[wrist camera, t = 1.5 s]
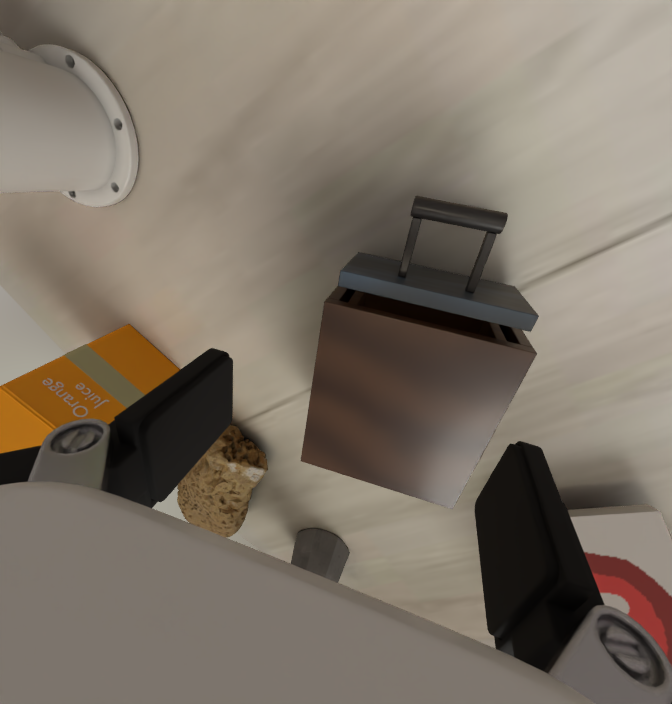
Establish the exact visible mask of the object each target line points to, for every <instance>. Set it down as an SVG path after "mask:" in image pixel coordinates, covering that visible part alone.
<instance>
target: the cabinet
mask: <svg viewBox="0 0 672 704" xmlns="http://www.w3.org/2000/svg"><path fill="white" fill-rule="evenodd" d="M355 291H356V290H352V289H348V288H344V287H340V286H338V287H337V288H336V289H335V290H334V291H333V292H332V294H331V295H330V296H329V297H328V298H327V299H326V301H325V302H324V309H323V316H322V322H321V329H320V336H319V342H318V349H317V356H316V362H315V369H314V376H313V382H312V389H311V396H310V402H309V409H308V416H307V422H306V429H305V436H304V443H303V449H302V456H301V461H302V462H306V463H309V464H312V465H315V466H318V467H321V468H324V469H328V470H331V471H334V472H337V473H340V474H343V475H346V476H350V477H353V478H356V479H359V480H362V481H365V482H368V483H372V484H375V485H378V486H381V487H384V488H387V489H390V490H394V491H397V492H400V493H403V494H406V495H409V496H412V497H416V498H419V499H422V500H425V501H428V502H431V503H435V504H438V505H441V506H444V507H447V508H450V509H453V508H454V506H455V504H456V502H457V500H458V498H459V496H460V495H461V493H462V491H463V489H464V487H465V485H466V484H467V482H468V480H469V478H470V476H471V474H472V473H473V471H474V469H475V467H476V465H477V463H478V461H479V460H480V458H481V456H482V454H483V452H484V450H485V449H486V447H487V445H488V443H489V441H490V439H491V438H492V436H493V434H494V432H495V430H496V428H497V426H498V425H499V423H500V421H501V419H502V417H503V415H504V414H505V412H506V410H507V408H508V406H509V404H510V403H511V401H512V399H513V397H514V395H515V393H516V391H517V390H518V388H519V386H520V384H521V382H522V380H523V379H524V377H525V375H526V373H527V371H528V369H529V368H530V366H531V364H532V362H533V360H534V358H535V356H536V355H537V353H536V351H535V349H534V348H533V347H532V345H531V344H530V342H529V340H528V339H527V337H526V336H525V334H524V332H523V331H522V330H521V329H517V328H513V327H509V326H504V325H500V324H499V326H500V329H501V331H502V333H503V335H504V337H505V339H506V341H503V340H499V339H495V338H491V337H487V336H483V335H479V334H475V333H471V332H466V331H462V330H458V329H454V328H450V327H446V326H442V325H438V324H434V323H429V322H425V321H421V320H417V319H413V318H409V317H405V316H401V315H396V314H392V313H388V312H384V311H380V310H376V309H372V308H368V307H364V306H359V305H355V304H351V303H348V302H349V301H350V299H351V297H352V296H353V294H354V293H355Z"/></svg>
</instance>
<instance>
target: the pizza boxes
mask: <svg viewBox="0 0 672 704" xmlns="http://www.w3.org/2000/svg"><path fill="white" fill-rule="evenodd" d="M568 513H569V515H570V518H571V520H572V523H573V525H574V528H575V531H576V533H577V536H578V538H579V541H580V543H581V546H582V548H583V551H584V553H585V556H586V559H587V561H588V564H589V566H590V569H591V571H592V574H593V576H594V579H595V581H596V584H597V587H598V589H599V592H600V594H601V597H602V599H603V602H604V604H605V605H607V606H610V607H614V608H616V609H618V610H620V611H622V612H624V613H626V614H627V615H629V616H630V617H631V618H633V619H634V620H635V621H637V622H638V623H639V624H640V625H641V626H642V627H643V628H644V629H645V630H646V631H647V632H648V633H649V634H650V635H651V636H652V637H653V638H654V639H655V641H656V642H657V643H658V645H659V646H660V647H661V649H662V650H663V651H664V653H665V655H666V657H667V658H668V660H669V662H670V664H671V666H672V538H671V536H670V533H669V531H668V529H667V526H666V524H665V521H664V519H663V517H662V514H661V512H660V511H659V510H657V509H655V508H653V507H652V506H650V505H648V504H642V505H628V506H615V507H601V508H587V509H573V510H568Z"/></svg>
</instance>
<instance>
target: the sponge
mask: <svg viewBox="0 0 672 704" xmlns="http://www.w3.org/2000/svg"><path fill="white" fill-rule="evenodd" d="M243 440H244V436H242V434H241V432H240V430H239V429H238V427H236V426H232V425H229V426H228V428H227V429H226V430H225V431H224V432H223V433H222V434H221V436H220V437H219V438H218V439H217V440H216V441H215V442H214V444H213V445H212V446H211V447H210V448H209V449H208V451H207V452H206V453H205V454H204V455H203V456H202V457H201V459H200V460H199V461H198V462H197V463H196V464H195V465H194V467H193V468H192V469H191V470H190V471H189V472H188V474H187V475H186V476H185V477H184V478H183V479H182V480H181V482H180V483H179V484H178V490H179V491H178V499H177V501H178V504H179V507H180V509H181V511H182V513H183V515H184V517H185V519H186V520H187V521H188V522H189V523H190V524H193V525H195V526H198V527H200V528H203V529H205V530H208V531H210V532H213V533H215V534H218V535H220V536H223V537H225V538H226V537H230V536H232V535H233V534H235V533H236V532H237V531H238V530H239V528H240V527H241V526H242V524H243V522H244V520H245V516H246V514H247V511H248V502H249V500H250V499H251V493H252V488H253V487H255V486H256V485H257V484H258V482H259V481H260V480H261V479H262V478H263V477H264V474H265V472H266V471H267V470H268V467H267V459H265V453H264V452H262V451H260V449H259V448H258V447H257V446H256V445H255V444H253V442H251V441H250V442H249V439H247V440H245V441H243Z"/></svg>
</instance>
